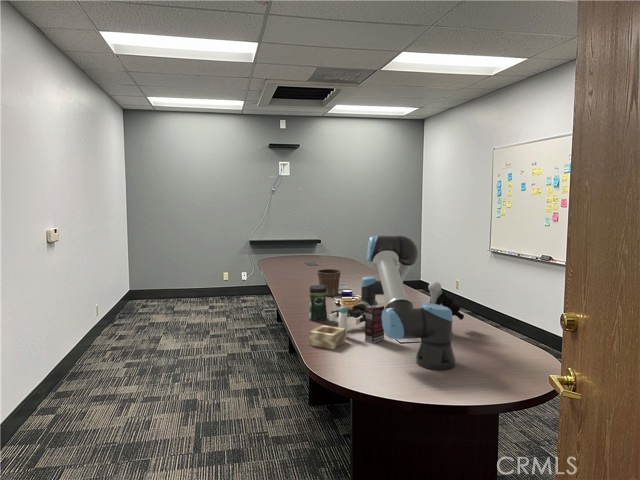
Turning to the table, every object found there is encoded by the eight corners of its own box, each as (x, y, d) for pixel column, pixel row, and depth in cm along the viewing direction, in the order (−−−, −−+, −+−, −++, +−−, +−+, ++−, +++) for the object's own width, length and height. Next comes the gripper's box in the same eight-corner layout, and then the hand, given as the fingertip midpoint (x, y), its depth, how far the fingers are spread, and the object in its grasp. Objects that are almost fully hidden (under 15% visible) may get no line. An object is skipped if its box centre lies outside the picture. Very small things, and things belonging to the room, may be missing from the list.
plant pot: (328, 298, 301) (328, 273, 299) (311, 294, 313) (311, 270, 311) (346, 295, 312) (346, 271, 310) (329, 291, 324) (329, 268, 322)
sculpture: (413, 329, 232) (414, 279, 230) (453, 325, 240) (454, 277, 238) (430, 338, 218) (431, 285, 215) (472, 333, 226) (474, 282, 223)
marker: (348, 336, 219) (348, 307, 218) (344, 338, 216) (345, 308, 215) (340, 335, 221) (341, 306, 220) (337, 337, 218) (337, 307, 216)
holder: (345, 341, 211) (345, 328, 211) (333, 349, 201) (333, 335, 200) (321, 337, 217) (321, 325, 216) (309, 344, 206) (309, 331, 206)
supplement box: (376, 337, 218) (376, 304, 217) (384, 339, 215) (385, 305, 213) (364, 341, 212) (364, 307, 211) (372, 343, 209) (373, 308, 207)
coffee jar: (325, 317, 254) (325, 283, 252) (327, 320, 246) (328, 286, 245) (308, 317, 253) (308, 283, 251) (309, 321, 245) (309, 286, 243)
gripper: (383, 320, 232) (367, 331, 214) (338, 314, 244) (319, 324, 225) (384, 305, 232) (368, 315, 213) (339, 300, 243) (319, 308, 225)
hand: (343, 319), depth 219 cm, fingers open, 13 cm apart
